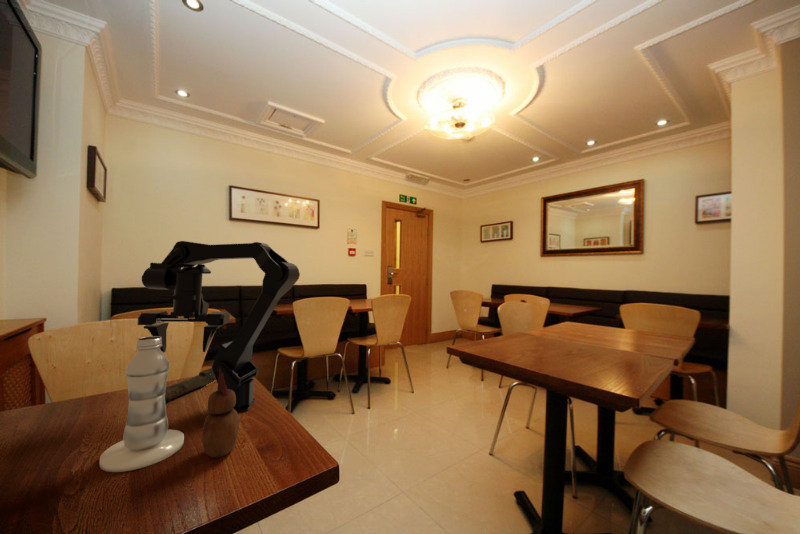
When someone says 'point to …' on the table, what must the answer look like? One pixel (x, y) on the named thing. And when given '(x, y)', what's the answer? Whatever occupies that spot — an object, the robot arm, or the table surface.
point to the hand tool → (189, 384)
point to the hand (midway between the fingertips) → (184, 352)
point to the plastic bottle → (146, 395)
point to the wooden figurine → (221, 421)
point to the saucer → (140, 454)
